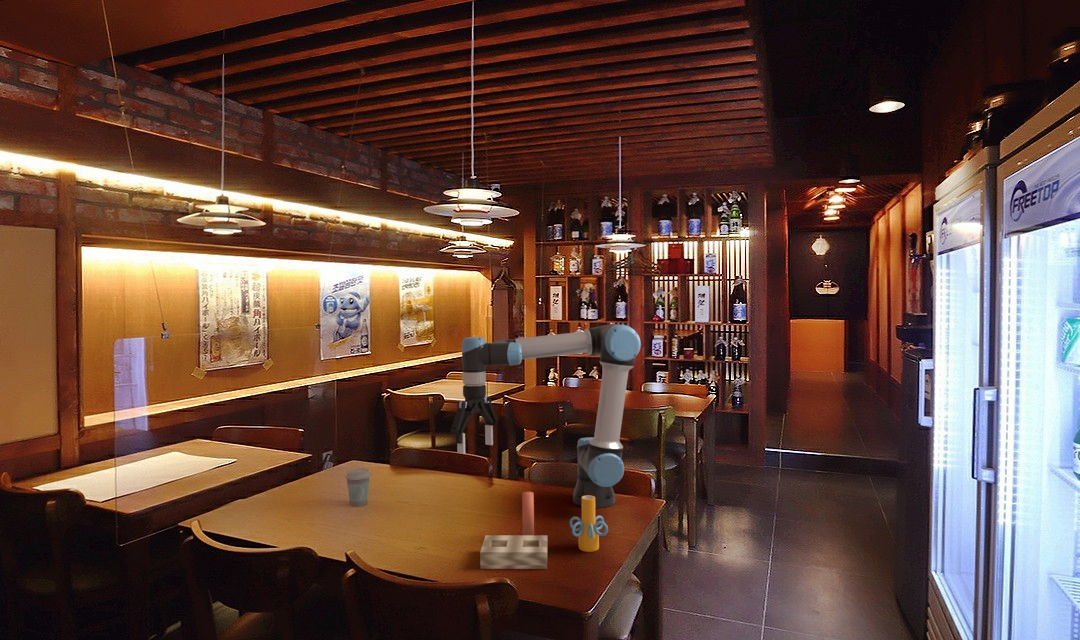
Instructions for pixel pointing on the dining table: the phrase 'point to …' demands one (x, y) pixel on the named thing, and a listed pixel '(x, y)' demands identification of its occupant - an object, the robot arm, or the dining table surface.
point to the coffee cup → (358, 486)
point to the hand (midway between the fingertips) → (475, 448)
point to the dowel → (528, 513)
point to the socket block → (514, 552)
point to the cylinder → (588, 526)
